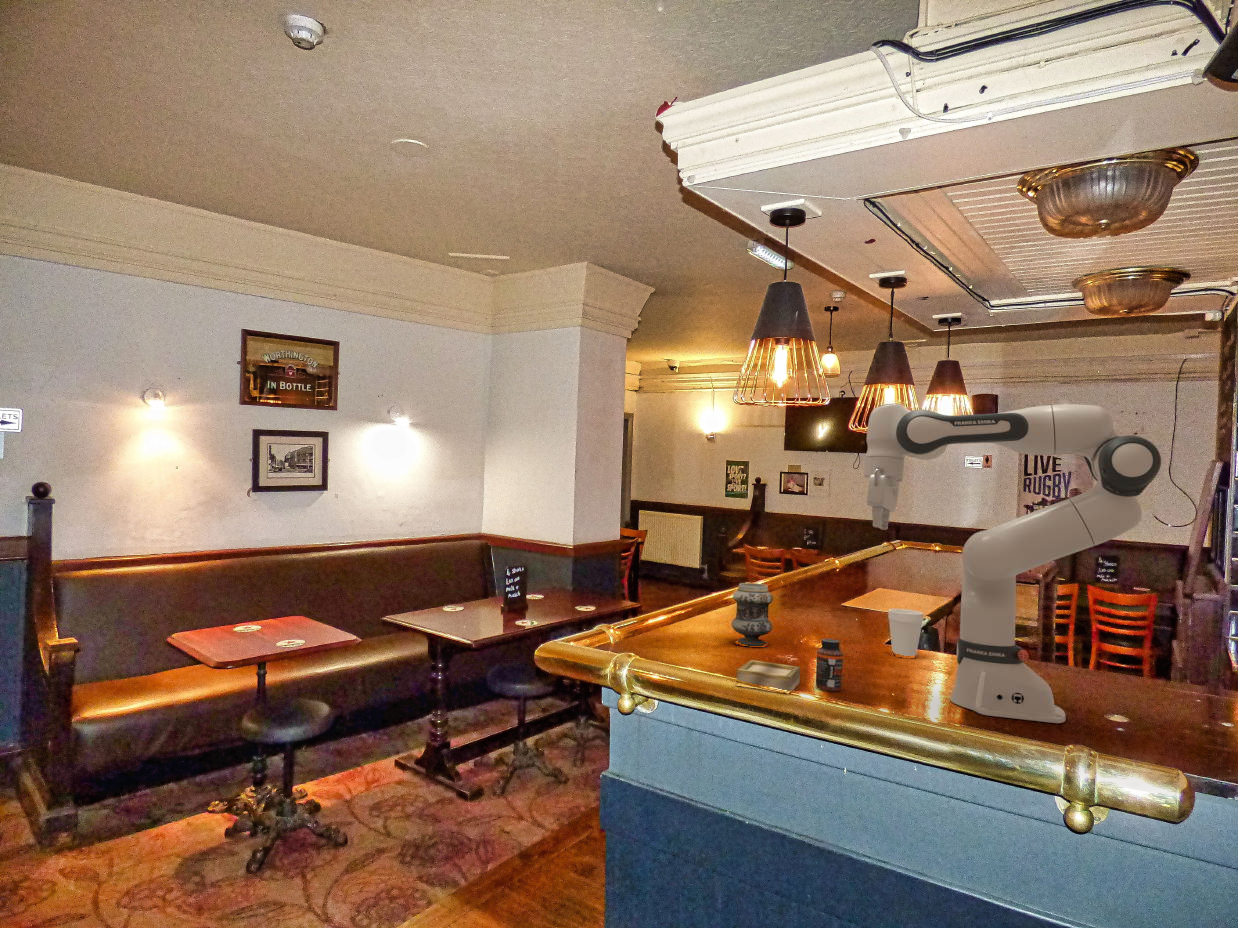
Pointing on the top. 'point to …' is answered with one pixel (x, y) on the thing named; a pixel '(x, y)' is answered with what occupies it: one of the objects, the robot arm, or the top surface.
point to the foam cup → (905, 630)
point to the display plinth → (769, 674)
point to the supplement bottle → (829, 666)
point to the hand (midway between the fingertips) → (880, 528)
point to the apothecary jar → (752, 613)
